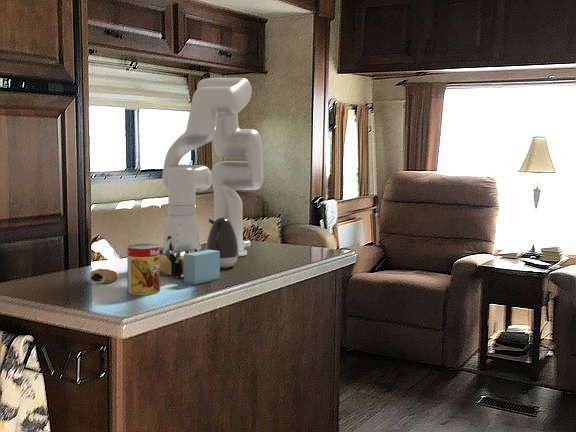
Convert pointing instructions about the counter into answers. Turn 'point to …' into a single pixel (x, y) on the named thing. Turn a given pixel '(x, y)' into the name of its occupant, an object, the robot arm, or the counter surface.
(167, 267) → the tan wooden plank
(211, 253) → the socket block
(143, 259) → the canned food
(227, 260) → the pump dispenser
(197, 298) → the counter surface
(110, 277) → the pastry
